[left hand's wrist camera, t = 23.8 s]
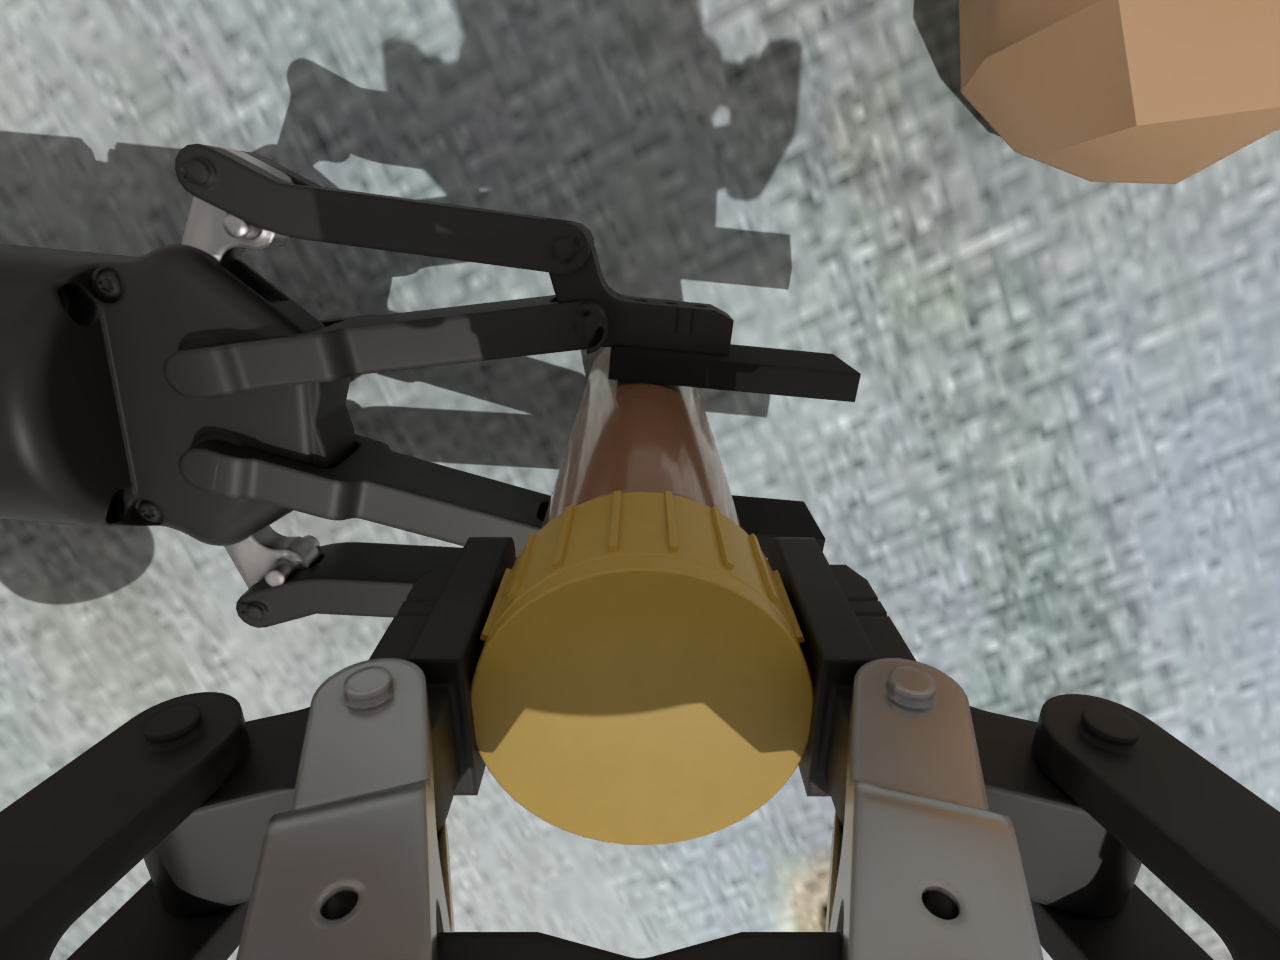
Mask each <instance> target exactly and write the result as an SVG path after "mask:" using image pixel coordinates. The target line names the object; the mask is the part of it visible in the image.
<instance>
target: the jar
mask: <svg viewBox="0 0 1280 960" xmlns="http://www.w3.org/2000/svg"><path fill="white" fill-rule="evenodd" d="M610 350H611V347H605V348H604V349H603V350H602V351H601V352H600V353H599V354H598V356H597V357H596V359H595V360H594V363H593V365H592V367H591V370H590V373H589V376H588V379H587V383H586V386H585V389H584V392H583V395H582V399H581V402H580V405H579V408H578V412H577V415H576V418H575V421H574V424H573V428H572V431H571V434H570V437H569V440H568V444H567V447H566V450H565V453H564V457H563V460H562V463H561V466H560V469H559V473H558V476H557V479H556V482H555V485H554V489H553V492H552V495H551V498H550V502H549V505H548V508H547V511H546V514H545V518H544V521H543V524H542V527H541V529H542V528H543V527H544V526H545V525H546V524H547V523H549V522H550V521H551V520H553V519H554V518H556V517H557V516H559V515H561V514H562V513H564V512H565V509H566V507H567V506H569V505H573V507H575V506H578V505H580V504H582V503H584V502H587V501H591V500H594V499H597V498H600V497H604V496H609V495H613V494H614V491H619V490H620V491H621V493H631V492H653V493H663V494H665V491H671V492H672V495H675V496H680V497H683V498H687V499H690V500H693V501H697V502H699V503H701V504H703V505H706V506H708V507H710V508H712V507H713V506H716V507H718V508H720V512H721V514H723V515H724V516H726V517H728V518H729V519H731V520H732V521H733V522H735V523H736V524H737V525H738V526H739V527H741V524H740V521H739V517H738V514H737V511H736V508H735V505H734V502H733V498H732V495H731V492H730V489H729V486H728V482H727V479H726V476H725V473H724V470H723V467H722V463H721V460H720V457H719V454H718V451H717V448H716V444H715V441H714V438H713V435H712V432H711V429H710V425H709V422H708V419H707V416H706V413H705V410H704V406H703V403H702V400H701V397H700V394H699V391H698V388H697V387H686V386H675V385H665V384H654V383H643V382H632V381H621V380H610V379H608V376H609V363H610ZM741 528H742V527H741Z"/></svg>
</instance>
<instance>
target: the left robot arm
mask: <svg viewBox="0 0 1280 960" xmlns="http://www.w3.org/2000/svg"><path fill="white" fill-rule="evenodd" d="M767 560H768V562H769V564H770V566H771V568H772V570H773V571H775V570H778V572H779V574H780V577H781V579H782V582H783V584H784V587H785V590H786V592H787V595H788V598H789V600H790V603H791V606H792V608H793V611H794V613H795V616H796V619H797V621H798V624H799V627H800V629H801V632H802V634H803V637H804V640H805V642H802V643H799V644H800V647H801V650H802V652H803V655H804V658H805V660H806V663H807V666H808V670H809V673H810V676H811V679H812V684H813V705H812V715H811V723H810V731H809V739H808V744H807V747H806V750H805V753H804V755H803V757H802V759H801V760H800V762H799V764H798V765H799V769H800V772H801V776H802V779H803V783H804V786H805V790H806V794H807V796H831V797H832V800H833V803H834V807H835V810H836V812H835V819H834V826H833V833H832V845H831V860H830V874H829V889H828V904H827V919H826V932H741V933H737V934H733V935H730V936H726V937H722V938H719V939H715V940H712V941H708V942H704V943H701V944H697V945H693V946H690V947H686V948H683V949H679V950H675V951H672V952H668V953H664V954H661V955H657V956H654V957H649V958H644V959H636V958H631V957H626V956H623V955H619V954H616V953H612V952H608V951H605V950H601V949H597V948H594V947H590V946H587V945H583V944H579V943H576V942H572V941H568V940H565V939H561V938H558V937H554V936H550V935H547V934H543V933H539V932H454V918H453V904H452V889H451V874H450V860H449V845H448V833H447V826H446V818H447V815H448V812H449V808H450V805H451V802H452V799H453V796H454V795H477V794H478V791H479V787H480V784H481V780H482V776H483V773H484V769H485V766H486V764H485V763H484V761H483V759H482V757H481V755H480V753H479V750H478V748H477V744H476V736H475V728H474V719H473V710H472V701H471V683H472V679H473V676H474V672H475V669H476V665H477V662H478V660H479V657H480V654H481V652H482V649H483V646H484V643H485V641H483V640H480V636H481V634H482V631H483V628H484V626H485V623H486V620H487V618H488V615H489V612H490V610H491V607H492V604H493V602H494V599H495V596H496V594H497V591H498V588H499V586H500V583H501V580H502V578H503V575H504V572H505V570H506V568H508V569H512V567H513V565H514V563H515V561H516V553H515V545H514V541H513V538H512V537H469V538H468V540H467V542H466V544H465V545H464V547H463V549H462V551H461V553H460V555H459V557H458V559H457V561H456V563H455V564H438V565H437V566H435V567H434V568H432V569H431V570H430V571H428V572H427V573H425V574H424V575H423V576H421V577H420V578H418V579H417V580H416V582H415V584H414V585H413V587H412V589H411V590H410V592H409V594H408V595H407V597H406V601H404V602H403V604H402V605H401V607H400V609H399V610H398V615H397V616H395V617H394V619H393V620H392V622H391V624H390V625H389V627H388V629H387V630H386V632H385V634H384V635H383V637H382V639H381V640H380V642H379V644H378V645H377V647H376V649H375V650H374V652H373V654H372V655H371V657H370V659H369V660H368V661H363V662H360V663H357V664H354V665H351V666H349V667H347V668H344V669H342V670H341V671H339V672H337V673H335V674H334V675H332V676H331V677H329V678H328V679H327V680H326V681H325V682H324V683H322V684H321V686H320V687H319V688H318V689H317V691H316V692H315V694H314V696H313V698H312V701H311V706H310V707H308V708H305V709H302V710H298V711H294V712H290V713H285V714H280V715H276V716H271V717H266V718H262V719H257V720H252V721H248V722H245V720H244V716H243V712H242V709H241V706H240V703H239V702H238V701H237V700H236V699H235V698H233V697H232V696H230V695H226V694H223V693H216V692H203V693H194V694H189V695H184V696H180V697H177V698H173V699H170V700H168V701H165V702H162V703H160V704H158V705H155V706H153V707H151V708H149V709H147V710H145V711H143V712H142V713H140V714H138V715H137V716H135V717H134V718H132V719H131V720H129V721H128V722H126V723H125V724H124V725H122V726H121V727H119V728H118V729H117V730H115V731H114V732H112V733H111V734H109V735H108V736H107V737H105V738H104V739H102V740H101V741H100V742H98V743H97V744H95V745H94V746H93V747H91V748H90V749H88V750H87V751H86V752H84V753H83V754H81V755H80V756H79V757H77V758H76V759H74V760H73V761H71V762H70V763H69V764H67V765H66V766H64V767H63V768H62V769H60V770H59V771H57V772H56V773H55V774H53V775H52V776H50V777H49V778H48V779H46V780H45V781H43V782H42V783H41V784H39V785H38V786H36V787H35V788H33V789H32V790H31V791H29V792H28V793H26V794H25V795H24V796H22V797H21V798H19V799H18V800H17V801H15V802H14V803H12V804H11V805H10V806H8V807H7V808H5V809H4V810H3V811H1V812H0V960H50V957H51V954H52V952H53V950H54V948H55V946H56V945H57V943H58V941H59V940H60V938H61V937H62V935H63V934H64V933H65V931H66V930H67V929H68V928H69V927H70V926H71V925H72V924H73V923H74V922H75V921H76V920H77V919H78V918H79V917H80V916H81V915H82V914H83V913H84V912H85V911H86V910H87V909H89V908H90V907H91V906H92V905H93V904H94V903H95V902H96V901H97V900H98V899H99V898H100V897H102V896H103V895H104V894H105V893H106V892H107V891H108V890H109V889H110V888H111V887H112V886H114V885H115V884H116V883H117V882H118V881H119V880H120V879H121V878H122V877H123V876H124V875H125V874H127V873H128V872H129V871H130V870H131V869H132V868H133V867H134V866H135V865H136V864H137V863H139V862H140V861H141V860H142V859H143V858H144V860H145V863H146V866H147V868H148V871H149V874H150V876H151V879H150V880H149V881H148V882H147V883H146V884H145V885H144V886H143V887H142V888H141V889H140V890H139V891H138V892H137V893H136V894H135V895H134V896H132V897H131V898H130V899H129V900H128V901H127V902H126V903H125V904H124V905H123V906H122V907H121V908H120V909H119V910H118V911H117V912H116V913H115V914H114V915H113V916H112V917H111V918H110V919H109V920H107V921H106V922H105V923H104V924H103V925H102V926H101V927H100V928H99V929H98V930H97V931H96V932H95V933H94V934H93V935H92V936H91V937H90V938H89V939H88V940H87V941H86V942H85V943H83V944H82V945H81V946H80V947H79V948H78V949H77V950H76V951H75V952H74V953H73V954H72V955H71V956H70V957H69V958H68V959H67V960H227V959H228V958H229V957H230V955H231V954H232V953H233V952H234V951H235V949H236V948H237V947H238V946H239V950H238V954H237V959H236V960H1044V959H1043V954H1042V950H1041V946H1042V947H1043V948H1044V949H1045V951H1046V952H1047V953H1048V954H1049V955H1050V957H1051V958H1052V959H1053V960H1213V959H1212V958H1211V957H1210V956H1209V955H1208V954H1207V953H1206V952H1205V951H1204V950H1203V949H1202V948H1201V947H1200V946H1199V945H1198V944H1197V943H1195V942H1194V941H1193V940H1192V939H1191V938H1190V937H1189V936H1188V935H1187V934H1186V933H1185V932H1184V931H1183V930H1182V929H1181V928H1180V927H1179V926H1178V925H1177V924H1176V923H1175V922H1174V921H1173V920H1172V919H1170V918H1169V917H1168V916H1167V915H1166V914H1165V913H1164V912H1163V911H1162V910H1161V909H1160V908H1159V907H1158V906H1157V905H1156V904H1155V903H1154V902H1153V901H1152V900H1151V899H1150V898H1149V897H1148V896H1146V895H1145V894H1144V893H1143V892H1142V891H1141V890H1140V889H1139V888H1138V887H1137V886H1136V885H1135V884H1134V882H1135V880H1136V877H1137V874H1138V872H1139V869H1140V866H1141V864H1142V863H1143V864H1144V865H1145V866H1146V867H1147V868H1148V869H1149V870H1150V871H1151V872H1152V873H1153V874H1155V875H1156V876H1157V877H1158V878H1159V879H1160V880H1161V881H1162V882H1163V883H1164V884H1165V885H1166V886H1168V887H1169V888H1170V889H1171V890H1172V891H1173V892H1174V893H1175V894H1176V895H1177V896H1178V897H1180V898H1181V899H1182V900H1183V901H1184V902H1185V903H1186V904H1187V905H1188V906H1189V907H1190V908H1191V909H1193V910H1194V911H1195V912H1196V913H1197V914H1198V915H1199V916H1200V917H1201V918H1202V919H1203V920H1205V921H1206V922H1207V923H1208V924H1209V925H1210V926H1211V927H1212V928H1213V929H1214V930H1215V931H1216V933H1217V934H1218V935H1219V936H1220V937H1221V939H1222V940H1223V942H1224V943H1225V945H1226V946H1227V948H1228V950H1229V951H1230V953H1231V955H1232V958H1233V960H1280V812H1279V811H1277V810H1276V809H1275V808H1273V807H1272V806H1270V805H1269V804H1268V803H1266V802H1265V801H1263V800H1262V799H1261V798H1259V797H1258V796H1256V795H1255V794H1254V793H1252V792H1251V791H1249V790H1248V789H1247V788H1245V787H1244V786H1242V785H1241V784H1239V783H1238V782H1237V781H1235V780H1234V779H1232V778H1231V777H1230V776H1228V775H1227V774H1225V773H1224V772H1223V771H1221V770H1220V769H1218V768H1217V767H1216V766H1214V765H1213V764H1211V763H1210V762H1209V761H1207V760H1206V759H1204V758H1203V757H1201V756H1200V755H1199V754H1197V753H1196V752H1194V751H1193V750H1192V749H1190V748H1189V747H1187V746H1186V745H1185V744H1183V743H1182V742H1180V741H1179V740H1178V739H1176V738H1175V737H1173V736H1172V735H1171V734H1169V733H1168V732H1166V731H1165V730H1163V729H1162V728H1161V727H1159V726H1158V725H1156V724H1155V723H1154V722H1152V721H1151V720H1149V719H1148V718H1146V717H1144V716H1143V715H1141V714H1139V713H1138V712H1136V711H1134V710H1132V709H1130V708H1128V707H1125V706H1123V705H1121V704H1118V703H1115V702H1112V701H1110V700H1106V699H1103V698H1099V697H1094V696H1089V695H1081V694H1065V695H1059V696H1056V697H1053V698H1051V699H1049V700H1048V701H1046V702H1045V704H1044V705H1043V707H1042V709H1041V712H1040V716H1039V720H1038V722H1033V721H1028V720H1024V719H1019V718H1014V717H1010V716H1005V715H1000V714H996V713H991V712H987V711H983V710H980V709H977V708H974V707H971V706H969V701H968V698H967V696H966V694H965V692H964V691H963V689H962V688H961V687H960V686H959V684H958V683H956V682H955V681H954V680H953V679H952V678H951V677H949V676H948V675H946V674H945V673H943V672H941V671H939V670H938V669H936V668H933V667H931V666H929V665H926V664H923V663H920V662H917V661H916V660H915V658H914V657H913V655H912V653H911V652H910V650H909V648H908V647H907V645H906V643H905V642H904V640H903V638H902V637H901V635H900V634H899V632H898V630H897V629H896V627H895V625H894V624H893V622H892V620H891V619H890V617H889V616H887V612H886V611H885V609H884V607H883V606H882V604H881V602H880V601H878V597H877V596H876V594H875V593H874V591H873V589H872V588H871V586H870V584H869V583H868V581H867V580H866V579H865V578H863V577H862V576H860V575H859V574H858V573H856V572H855V571H854V570H852V569H851V568H849V567H848V566H847V565H829V563H828V561H827V560H826V558H825V556H824V554H823V552H822V550H821V548H820V546H819V544H818V543H817V541H816V539H815V538H813V537H772V538H771V540H770V543H769V548H768V559H767Z"/></svg>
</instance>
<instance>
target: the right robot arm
mask: <svg viewBox="0 0 1280 960" xmlns="http://www.w3.org/2000/svg"><path fill="white" fill-rule="evenodd" d="M175 171H176V174H177V177H178V180H179V182H180V183H181V184H182V186H183V187H184V188H185V190H186V191H188V192H189V193H191V194H192V195H193V199H192V203H191V207H190V211H189V214H188V218H187V222H186V226H185V230H184V234H183V238H182V242H181V245H167V246H163V247H160V248H158V249H156V250H154V251H152V252H150V253H149V254H147V255H145V256H142V257H130V256H120V255H109V254H99V253H89V252H78V251H68V250H58V249H47V248H37V247H26V246H16V245H3V244H0V518H1V519H13V520H25V521H37V522H50V523H62V524H74V525H86V526H98V527H132V526H156V525H158V526H167V527H170V528H173V529H176V530H179V531H181V532H183V533H186V534H188V535H190V536H191V537H193V538H195V539H197V540H199V541H201V542H203V543H206V544H210V545H217V546H224V547H225V548H226V550H227V552H228V553H229V555H230V557H231V559H232V560H233V562H234V564H235V565H236V567H237V569H238V571H239V572H240V574H241V576H242V578H243V579H244V581H245V583H246V584H247V586H248V588H249V590H247V591H246V592H245V593H244V594H243V595H242V596H241V597H240V599H239V600H238V601H237V605H236V610H237V613H238V616H239V617H240V618H241V619H242V620H243V621H244V622H245V623H247V624H249V625H250V626H254V627H258V628H261V627H268V626H272V625H276V624H279V623H283V622H287V621H290V620H294V619H298V618H302V617H305V616H309V615H313V614H316V613H317V614H337V615H357V616H377V617H395V616H397V615H398V610H399V609H400V607H401V605H402V604H403V602H404V601H406V597H407V595H408V594H409V592H410V590H411V589H412V587H413V585H414V584H415V582H416V580H417V579H418V578H420V577H421V576H423V575H424V574H425V573H427V572H428V571H430V570H431V569H432V568H434V567H435V566H437V565H438V564H455V563H456V561H457V559H458V557H459V555H460V553H461V551H462V549H463V548H456V547H437V546H418V545H399V544H380V543H361V542H345V543H336V544H329V545H325V546H320V545H319V541H318V540H317V539H316V538H315V537H313V536H309V535H308V536H304V537H287V536H283V535H280V534H278V533H276V532H275V531H274V530H273V529H272V528H271V527H270V524H272V523H273V522H275V521H277V520H278V519H280V518H281V517H283V516H285V515H286V514H288V513H290V512H291V511H293V510H295V511H299V512H303V513H306V514H310V515H314V516H318V517H322V518H325V519H330V520H345V519H350V518H360V519H364V520H368V521H372V522H375V523H379V524H383V525H387V526H390V527H394V528H398V529H401V530H405V531H409V532H413V533H416V534H420V535H424V536H428V537H431V538H435V539H439V540H443V541H446V542H450V543H454V544H457V545H461V546H464V545H465V544H466V542H467V540H468V538H469V537H512V538H513V541H514V545H515V553H516V559H517V557H518V556H519V554H520V553H521V551H522V550H523V548H524V546H525V544H526V541H527V538H528V535H529V534H530V533H531V532H534V533H535V534H536V533H537V532H538V531H539V530H540V529H541V527H542V524H543V521H544V518H545V514H546V511H547V508H548V505H549V502H550V498H551V496H549V495H546V494H542V493H538V492H535V491H531V490H528V489H524V488H521V487H517V486H513V485H510V484H506V483H503V482H499V481H496V480H492V479H488V478H485V477H481V476H478V475H474V474H471V473H467V472H464V471H460V470H456V469H453V468H449V467H446V466H442V465H439V464H435V463H431V462H428V461H424V460H421V459H417V458H414V457H410V456H406V455H403V454H399V453H396V452H393V451H392V450H390V448H389V447H388V445H386V444H385V443H382V442H380V441H377V440H373V439H369V438H366V437H362V436H359V435H355V434H354V428H353V425H352V422H351V419H350V416H349V413H348V410H347V407H346V398H347V393H348V389H349V384H350V379H351V376H355V375H360V374H368V373H377V372H386V371H395V370H404V369H413V368H422V367H430V366H439V365H448V364H457V363H466V362H475V361H484V360H493V359H501V358H510V357H519V356H528V355H537V354H546V353H555V352H563V351H572V350H581V349H587V354H589V353H592V352H595V351H597V350H598V349H599V348H601V347H611V350H610V363H609V376H608V379H610V380H621V381H632V382H643V383H654V384H665V385H675V386H686V387H697V388H708V389H719V390H730V391H741V392H751V393H762V394H773V395H784V396H795V397H806V398H816V399H827V400H838V401H849V402H855V398H856V393H857V389H858V384H859V379H860V375H861V374H860V373H859V372H857V371H856V370H854V369H853V368H852V367H850V366H849V365H847V364H846V363H845V362H843V361H842V360H840V359H839V358H838V357H836V356H835V355H833V354H826V353H815V352H805V351H794V350H784V349H773V348H763V347H752V346H742V345H731V344H730V342H731V335H732V328H733V321H734V320H733V319H732V318H731V317H730V316H729V315H728V314H727V313H726V312H724V311H722V310H720V309H718V308H716V307H714V306H713V305H711V304H702V303H692V302H691V303H690V302H681V301H671V300H661V299H650V298H640V297H630V296H624V295H620V294H618V293H616V292H614V291H613V290H612V289H611V288H610V287H609V286H608V285H607V283H606V282H605V280H604V278H603V275H602V272H601V268H600V265H599V261H598V257H597V254H596V250H595V246H594V238H593V236H592V234H591V232H590V230H589V229H587V228H586V227H585V226H584V225H583V224H580V223H577V222H573V221H566V220H558V219H551V218H544V217H537V216H529V215H522V214H515V213H508V212H500V211H493V210H486V209H478V208H471V207H464V206H457V205H449V204H442V203H435V202H428V201H420V200H413V199H406V198H398V197H391V196H384V195H377V194H369V193H362V192H355V191H348V190H340V189H333V188H326V187H321V186H319V185H317V184H315V183H313V182H311V181H309V180H308V179H306V178H304V177H302V176H300V175H298V174H296V173H294V172H292V171H290V170H288V169H286V168H284V167H282V166H280V165H279V164H277V163H275V162H273V161H271V160H269V159H267V158H265V157H263V156H261V155H258V154H254V153H250V152H244V151H238V150H232V149H226V148H220V147H213V146H207V145H201V144H193V145H187V146H186V147H184V148H183V149H181V150H180V151H179V153H178V155H177V157H176V163H175ZM290 237H293V238H298V239H305V240H312V241H319V242H327V243H334V244H342V245H349V246H357V247H364V248H372V249H379V250H387V251H394V252H402V253H409V254H417V255H424V256H432V257H439V258H447V259H454V260H462V261H469V262H477V263H484V264H491V265H499V266H506V267H514V268H521V269H529V270H536V271H544V272H549V274H550V278H551V281H552V284H553V288H554V291H555V294H556V295H552V296H543V297H534V298H526V299H517V300H509V301H500V302H491V303H483V304H474V305H466V306H457V307H448V308H440V309H431V310H422V311H414V312H405V313H397V314H388V315H366V316H357V317H348V318H340V319H331V320H322V321H318V320H317V319H316V318H314V317H313V316H312V315H311V314H309V313H308V312H307V311H305V310H304V309H303V308H302V307H300V306H299V305H298V304H296V303H295V302H294V301H293V300H291V299H290V298H289V297H287V296H286V295H285V294H283V293H282V292H281V291H280V290H278V289H277V288H276V287H274V286H273V285H272V284H271V283H269V282H268V281H267V280H265V279H264V278H263V277H262V276H260V275H259V274H258V273H256V272H255V271H254V270H253V269H251V268H250V267H249V266H247V265H246V264H245V263H244V262H242V261H241V260H240V259H239V257H240V255H241V253H242V252H243V251H244V250H245V249H246V248H248V249H252V250H258V249H270V248H279V247H281V246H283V245H285V244H286V243H287V242H288V240H289V238H290ZM732 498H733V502H734V505H735V508H736V511H737V514H738V517H739V521H740V524H741V527H742V529H743V530H744V531H745V532H746V533H747V534H748V535H751V534H752V533H753V534H754V535H755V536H756V537H757V540H758V542H759V545H760V548H761V551H762V552H763V554H764V555H765V557H766V558H768V548H769V543H770V540H771V538H772V537H813V538H815V539H816V541H817V543H818V544H819V546H820V548H821V550H822V552H823V547H824V543H825V538H824V536H823V534H822V532H821V531H820V529H819V527H818V525H817V524H816V522H815V520H814V518H813V517H812V515H811V513H810V512H809V510H808V508H807V506H806V505H805V503H804V502H802V501H791V500H779V499H768V498H756V497H745V496H734V495H732ZM319 546H320V547H319Z"/></svg>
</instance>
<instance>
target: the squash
mask: <svg viewBox="0 0 1280 960" xmlns="http://www.w3.org/2000/svg"><path fill="white" fill-rule="evenodd" d="M959 23H960V74H961V93H962V94H963V96H964V97H965V98H966V99H967V100H968V101H969V102H970V103H971V104H972V105H973V106H974V108H975V109H976V110H977V111H978V112H979V113H980V114H981V115H982V116H983V117H984V119H985V120H986V121H987V122H988V123H989V124H990V125H991V126H992V127H993V128H994V129H995V131H996V132H997V133H998V134H999V135H1000V136H1001V137H1002V138H1003V139H1004V140H1005V141H1006V143H1007V144H1008V145H1009V146H1010V147H1011V148H1012V149H1013V150H1014V151H1015V152H1016V153H1019V154H1021V155H1024V156H1027V157H1029V158H1032V159H1034V160H1037V161H1039V162H1042V163H1045V164H1047V165H1050V166H1052V167H1055V168H1058V169H1060V170H1063V171H1065V172H1068V173H1070V174H1073V175H1076V176H1078V177H1081V178H1083V179H1086V180H1088V181H1091V182H1120V183H1153V184H1176V183H1178V182H1180V181H1182V180H1184V179H1186V178H1187V177H1189V176H1191V175H1193V174H1195V173H1197V172H1199V171H1201V170H1202V169H1204V168H1206V167H1208V166H1210V165H1212V164H1214V163H1215V162H1217V161H1219V160H1221V159H1223V158H1225V157H1227V156H1228V155H1230V154H1232V153H1234V152H1236V151H1238V150H1240V149H1241V148H1243V147H1245V146H1247V145H1249V144H1251V143H1253V142H1254V141H1256V140H1258V139H1260V138H1262V137H1264V136H1266V135H1268V134H1269V133H1271V132H1273V131H1276V130H1280V0H959Z"/></svg>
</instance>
